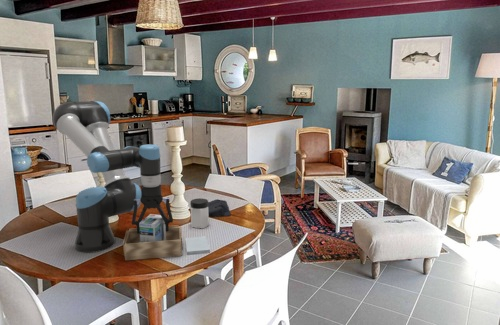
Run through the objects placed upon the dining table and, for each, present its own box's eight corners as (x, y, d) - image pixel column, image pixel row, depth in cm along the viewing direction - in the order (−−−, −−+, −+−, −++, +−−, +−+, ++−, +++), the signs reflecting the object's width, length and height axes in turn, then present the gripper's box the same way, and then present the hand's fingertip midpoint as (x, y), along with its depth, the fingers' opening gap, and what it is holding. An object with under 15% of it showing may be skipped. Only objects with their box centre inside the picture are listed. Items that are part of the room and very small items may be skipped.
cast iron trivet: (230, 204, 215) (230, 196, 214) (230, 217, 194) (230, 208, 193) (202, 204, 214) (202, 196, 213) (200, 218, 193) (199, 209, 192)
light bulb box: (155, 250, 149) (154, 224, 147) (139, 248, 150) (138, 222, 148) (166, 239, 160) (166, 214, 157) (151, 238, 161) (150, 213, 158)
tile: (186, 254, 151) (186, 251, 151) (185, 240, 164) (185, 237, 164) (209, 252, 153) (209, 249, 152) (206, 238, 166) (206, 236, 166)
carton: (123, 261, 145) (122, 244, 144) (127, 244, 161) (126, 228, 159) (182, 255, 150) (182, 239, 148) (181, 240, 165) (180, 225, 164)
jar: (202, 220, 188) (201, 197, 186) (212, 225, 182) (212, 200, 180) (186, 225, 182) (186, 200, 180) (197, 230, 176) (196, 204, 174)
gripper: (121, 188, 144) (124, 245, 149) (179, 186, 148) (180, 241, 153) (123, 183, 151) (126, 237, 156) (178, 181, 156) (180, 234, 160)
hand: (153, 239), depth 155 cm, fingers closed on light bulb box, 8 cm apart
